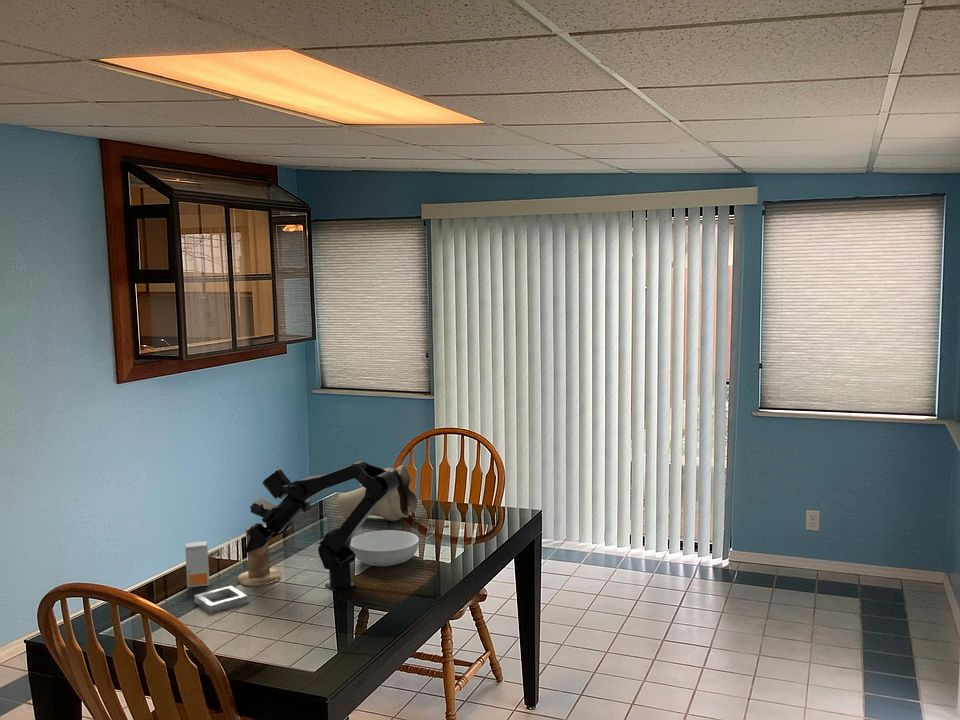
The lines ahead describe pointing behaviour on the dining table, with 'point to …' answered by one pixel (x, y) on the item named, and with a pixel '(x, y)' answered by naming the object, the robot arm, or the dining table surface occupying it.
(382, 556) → the serving bowl
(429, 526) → the dining table surface
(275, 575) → the cork coaster
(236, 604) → the grey square frame
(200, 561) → the skincare box
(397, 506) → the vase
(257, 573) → the tan tall block
